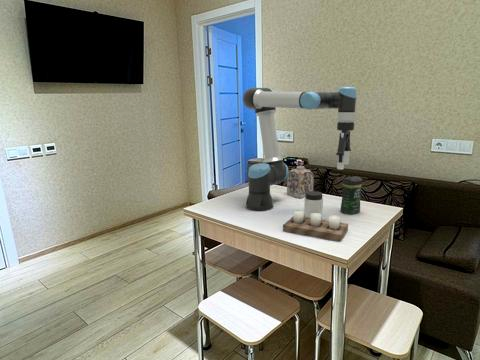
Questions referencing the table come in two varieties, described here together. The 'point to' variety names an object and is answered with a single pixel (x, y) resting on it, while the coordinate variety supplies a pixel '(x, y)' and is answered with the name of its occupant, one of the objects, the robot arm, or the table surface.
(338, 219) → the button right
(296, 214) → the button left
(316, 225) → the button middle
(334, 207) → the table surface
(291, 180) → the decorative jar
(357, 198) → the coffee jar
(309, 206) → the jar
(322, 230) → the button board
